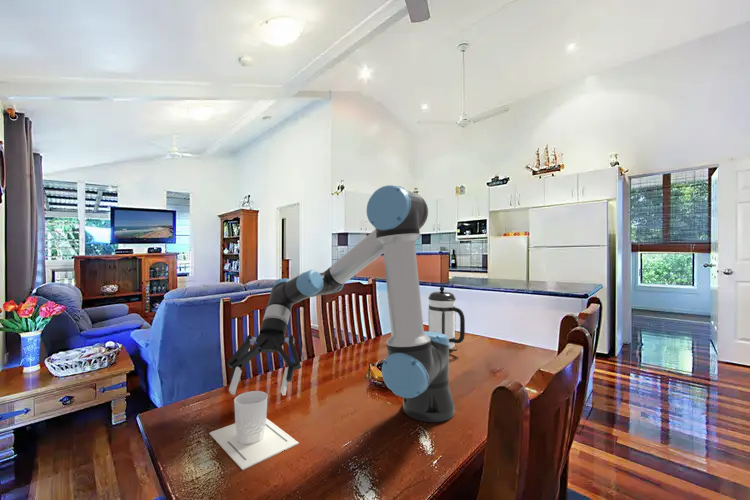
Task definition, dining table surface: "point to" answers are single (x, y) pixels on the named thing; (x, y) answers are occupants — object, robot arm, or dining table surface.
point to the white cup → (250, 416)
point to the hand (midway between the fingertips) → (257, 393)
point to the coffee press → (445, 316)
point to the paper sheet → (253, 444)
